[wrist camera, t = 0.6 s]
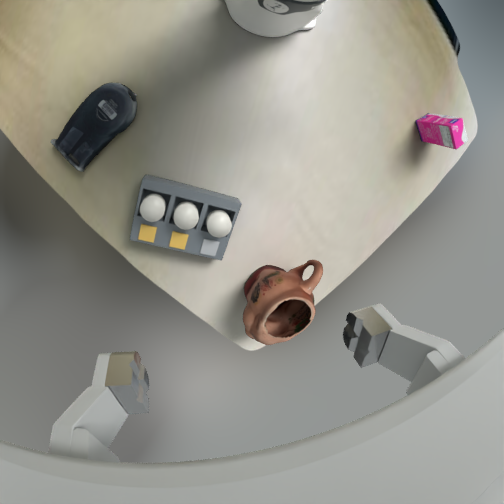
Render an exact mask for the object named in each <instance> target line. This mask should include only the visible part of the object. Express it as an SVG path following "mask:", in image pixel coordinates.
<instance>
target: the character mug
mask: <svg viewBox="0 0 504 504" xmlns="http://www.w3.org/2000/svg"><path fill="white" fill-rule="evenodd" d="M309 265H313V266H314V271H313V274H312V275H311V277H310V278H309V279H307V280H305V281H303V279H302V275H303V272H304V270H305V269H306V268H307V267H308V266H309ZM322 274H323V267H322V264H321V263H320V262H319V261H316V260H309V261H307V263H305V264H304V265H301V266H299V267H296V268H294V269H291V270H290V271H289V272H286V271H285V270H284V269H281V268H279V267H276V266H272V265H266V266H263V267H261V268H259V269H258V270H256V271H255V272H254V273H253V274H252V275H251V276H250V278H249V279H248V281H247V282H246V283H245V285H244V292H245V296H246V299H247V301H248V303H247V306H246V308H245V310H244V313H243V322H244V325H245V332H246V334H247V335H248V336H249V337H250V338H252V339H255V340H256V341H258V342H261V343H263V344H265V345H271V344H275V343H279V342H285V341H288V340H290V339H292V338H293V337H294V336H296V335H297V334H299V333H300V332H302V331H303V330H304V329H305V328H306V327H307V326H308V325H309V324H310V323H311V322H312V320H313V318H314V315H315V306H314V296H313V294H312V291H313V290H314V288H315V287H316V286H317V284H318V283H319V281H320V279H321V277H322Z"/></svg>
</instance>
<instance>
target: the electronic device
mask: <svg viewBox="0 0 504 504" xmlns="http://www.w3.org/2000/svg"><path fill="white" fill-rule="evenodd" d="M129 95H130V96H131V98H132V99H131V98H130V96H129ZM136 96H137V94H135V93H133V92H132V91H131V90H130V89H129V88H128V87H126V86H125V85H123V84H120V83H108V84H104V85H102V86H101V87H100V88H98V89H97V90H95V91H94V92H92V93H91V94H90V95H89V96H88V97H87V98H86V99H85V101H84V102H82V104H81V105H80V106H79V108H78V109H77V110H76V112H75V113H74V114H73V115H72V117H71V118H70V120H69V121H68V123H67V124H66V125H65V127H64V129H63V131H62V132H61V134H60V136H59V138H58V139H52V140H51V143H52V144H53V145H54V146H55V148H56V149H57V150H58V151H59V152H60V153H61V154H62V155H63V156H64V157H65V159H67V160H68V161H69V162H70V164H72V165H73V166H74V167H75V168H76V169H77V170H79V171H81V172H82V171H83V172H84V170H85V168H86V166H87V165H88V164H89V163H90V162H91V161H92V160H93V159H94V157H95V156H96V155H98V154H99V152H100V151H101V150H102V149H103V148H104V147H105V146H106V145H107V144H108V143H109V142H110V141H111V140H112V139H113V138H114V137H115V136H116V135H117V134H119V133H121V132H122V131H124V130H125V129H126V128H127V127H128V126H129V125H130V124H131V123H132V121H133V119H134V117H135V114H136V110H137V101H136Z"/></svg>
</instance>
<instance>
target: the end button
mask: <svg viewBox="0 0 504 504" xmlns="http://www.w3.org/2000/svg"><path fill="white" fill-rule="evenodd" d="M165 208H166V203H165V200H164V198H163V197H162V196H161V195H159V194H155V193H153V194H149V195H147V196H146V197H145V198H144V200H143V202H142V204H141V206H140V213H141V215H142V217H143V218H144V219H145V220H147V221H149V222H155V221H158V220H160V219H161V218H162V217H163V215H164V212H165Z"/></svg>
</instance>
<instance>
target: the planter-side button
mask: <svg viewBox="0 0 504 504" xmlns="http://www.w3.org/2000/svg"><path fill="white" fill-rule="evenodd" d="M206 224H207V229H208V232H209V233H210V234H211V235H212V236H214V237H218V238H220V237H224V236H226V235H227V234H228V233H229V232H230V231H231V228H232V223H231V220H230V218H229V216H228V214H227V213H226V212H225V211H223V210H214V211H212V212H211V213H209V215H208V216H207V219H206Z"/></svg>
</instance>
